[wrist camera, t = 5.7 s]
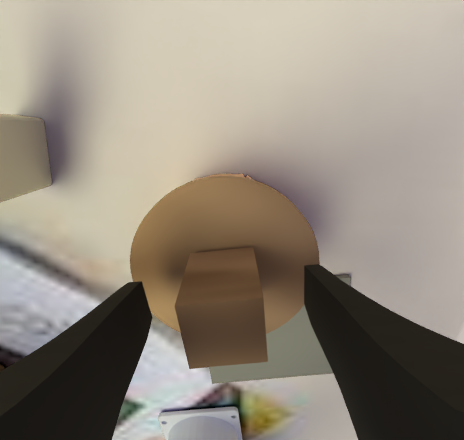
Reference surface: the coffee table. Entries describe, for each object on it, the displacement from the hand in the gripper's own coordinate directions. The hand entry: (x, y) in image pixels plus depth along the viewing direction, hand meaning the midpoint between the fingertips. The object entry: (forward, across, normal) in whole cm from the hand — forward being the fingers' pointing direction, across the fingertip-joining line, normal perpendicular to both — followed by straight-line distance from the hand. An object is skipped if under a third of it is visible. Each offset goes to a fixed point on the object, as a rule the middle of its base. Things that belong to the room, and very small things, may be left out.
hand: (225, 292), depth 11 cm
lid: (+2, 0, 0) cm, 3 cm away
